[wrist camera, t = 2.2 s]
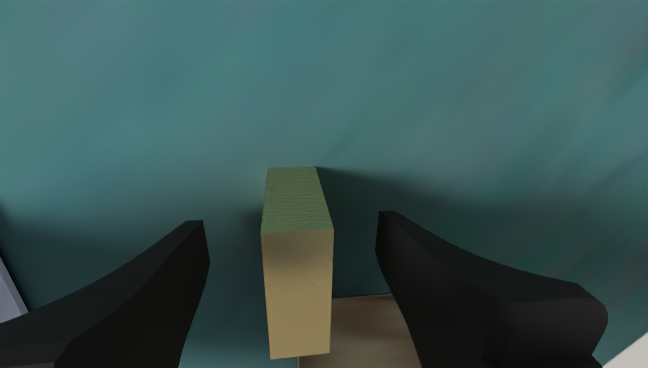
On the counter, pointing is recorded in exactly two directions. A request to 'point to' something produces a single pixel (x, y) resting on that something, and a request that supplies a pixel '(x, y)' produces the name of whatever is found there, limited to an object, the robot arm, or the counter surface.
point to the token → (297, 262)
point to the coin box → (366, 336)
